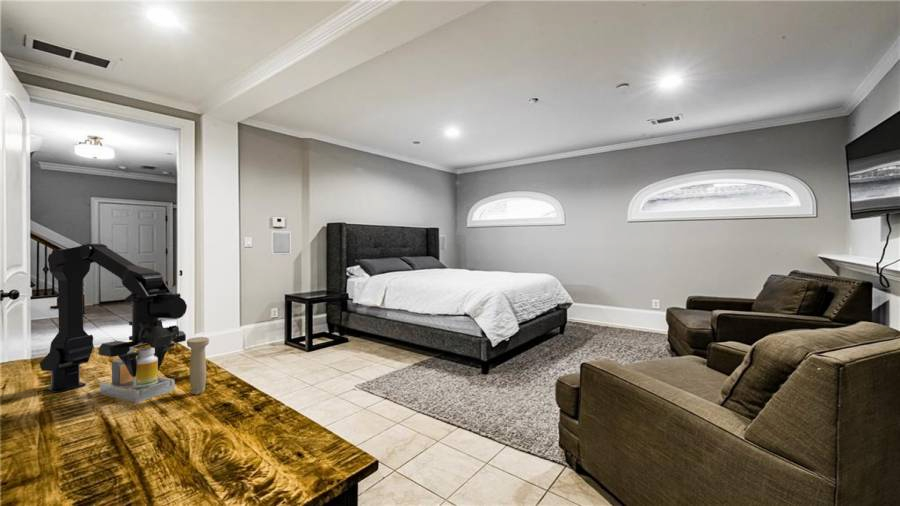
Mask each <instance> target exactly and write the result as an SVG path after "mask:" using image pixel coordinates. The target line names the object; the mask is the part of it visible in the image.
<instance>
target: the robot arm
mask: <svg viewBox="0 0 900 506" xmlns="http://www.w3.org/2000/svg"><path fill="white" fill-rule="evenodd" d="M47 263H48V269H49V273H50V274H51V275H52V276H53V277H54V278H55V279H56V280H57V295H58V296H57V298H58V300H57V303H58V304H57V305H58V306H57V309H58V332H57V334H56V335H55V337H54V338H53V339H52V341H51V342H50V346H49V352H48V353H47V355H46V356H45V357H44V358H43V359H42V360H41V361H40V362H39V367H40V370H41V371H45V372H50V373H51V374H50V375H51V377H50V383H51V385H50V386H48V387H45V388H44V390H45V391H48V392H53V393H56V394H57V393H61V392H66V391H69V390H70V391H71V390H72V389H76V388H80V387H84V386H86V384H87V383H85V382H82V381H81V380H80V378H81V377H80V376H81V375H80V366H81V365H82V364H86V363H89V362H90V361H89V360H90V357H91V355H92V353H93V349H95V347H94V335H92V334H88V333H87V332H86V330H85V329H84V291H83V290H84V287H83V285H84V283H83V281H84V280H85V277H87V275H88V274H89V272H90V269H91V264H93V263H95V264H97V265H99V266H100V267H102V268H103V269H105V270H107V271H108V272H110V273H112V274H113V275H115V276H116V277H118V278H119V279H120V280H121V284H122V286H123V287H124V288H126V289H127V290H128V291H129V292H130V294H129V295H128V296H126V298H124V301H125V302H131V321H130V320H129V321H128V323H129V324H128V325H129V326H131V335H129V336H128V340H129V341H122V340H115V341H108V342H104V343H101V345H100V346H99V347H98V355H100V356H104V357H109V358H113V357H119V358H120V359H121V360H122V361H123V363H124V364H125V366H126V367H127V369H128V371H129V373H130V374H131V376H132V377H135V376H136V357H137V355H138V353H137V352H136V349H137V348H140V347H145V346H150V348H155V353H154V355H155V356H157V357H158V371H159V370H160V368H161V365H162V363H163V361H164V358H165V356H166V353H167V352H168V351H169V350H170V349H171V348H172V347H175V345H176V344H177V343H181V342H182V343H183V342H187V335H186V333H185V332H184V331H182V330H180V328H179V326H178V325H169V326H167V327H164V326H163V322H162V319H173V320H174V319H176V320H177V319H181V318H182V317H184V315H185V314H186V312H187V308H188V306H187V305H188V304H187V303H186V301H185V299H183V298H182V297H181V293H179V292H178V293H173V291H172V290H171V288H170V287H169V286H168V284H167V283H166V281H165V279H164V278H163V275H162V274H161V272H159V271H157V270H154V269H151V268H148V267H142V266H138V265H136V264H135V263H133V262H132V261H130V260H128V259H126V258H125V257H124V256H122V255H120V254H118V253H117V252H116V251H113V249H110V248H109V247H108V246H107V245H106V244H103V243H85V244H82V245H79V246H74V247H69V248H64V249H61V248H60V249H59V248H58V249H55V250H53V251H52V252H51V253H49V254H48V257H47ZM120 359H119V360H120Z"/></svg>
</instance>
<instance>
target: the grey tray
mask: <svg viewBox="0 0 900 506" xmlns="http://www.w3.org/2000/svg"><path fill="white" fill-rule="evenodd" d="M136 358H137V357H136ZM175 384H176V383H175V379H173V378H168V377H163V376H158V382H157V383H156V384H154V385H151V386H147V387H134V386H133V377H132V376H131V374H130V373H129V371H128V369H127V367H126V366H125V364H124V363H123V361H122V360H121V359H116V360H113V361H112V360H111V383H109V382H105V381H102V382H100V383H99V394H100V395H104V396H108V397H112V398H116V399H118V400H119V399H120V400H123V401H127V402H130V403H131V402H132V403H134V404H138V403H141V402H143V401H146V400H150V399H152V398H155V397H157V396H158V397H159V396H162V395H164V394H167V393H170V392H172V391H173V392H174V391H175V389H176V388H175Z"/></svg>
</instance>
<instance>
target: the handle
mask: <svg viewBox="0 0 900 506" xmlns="http://www.w3.org/2000/svg"><path fill="white" fill-rule="evenodd" d="M209 343H210V338H209V337H206V336H205V337H204V336H199V337H197V336H195V337H190V338H188V339H186V345H187V347H188V348H190V362H189V363H190V364H189V386H190V394H191V395H201V394H203V393H204V392H205V391H206V382H207V361H206V346H209Z"/></svg>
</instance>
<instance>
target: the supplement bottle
mask: <svg viewBox="0 0 900 506" xmlns="http://www.w3.org/2000/svg"><path fill="white" fill-rule="evenodd" d="M135 352H137V353H138V355H137V358H136V376H135V377H133V386H134V387H147V386H151V385H154V384H156V383H157V382H158V375H159V370H158V357H157V356H155V355H154V353H155V348H152V347H143V348H138V349H137V350H135Z"/></svg>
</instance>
